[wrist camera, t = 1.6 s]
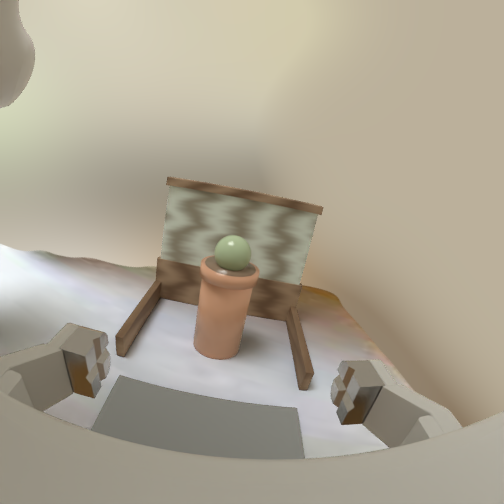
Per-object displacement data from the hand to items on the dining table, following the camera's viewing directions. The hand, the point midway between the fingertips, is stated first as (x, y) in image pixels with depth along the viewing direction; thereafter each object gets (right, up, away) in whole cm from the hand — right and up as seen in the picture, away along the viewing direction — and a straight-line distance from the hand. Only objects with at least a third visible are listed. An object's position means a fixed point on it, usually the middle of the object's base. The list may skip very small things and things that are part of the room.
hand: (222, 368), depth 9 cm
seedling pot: (-4, -9, +30) cm, 31 cm away
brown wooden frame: (-4, -8, +32) cm, 33 cm away
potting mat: (-4, -14, +14) cm, 20 cm away
